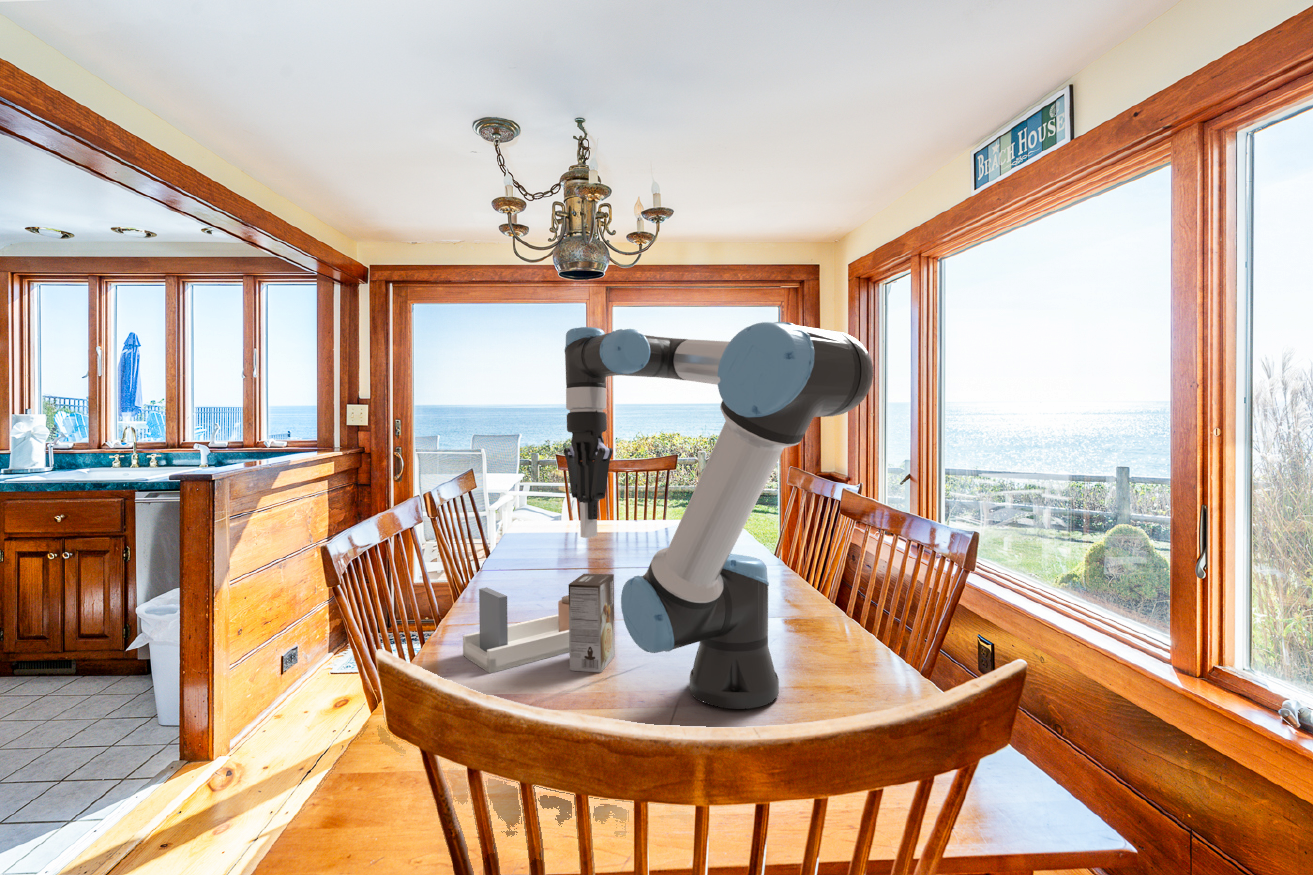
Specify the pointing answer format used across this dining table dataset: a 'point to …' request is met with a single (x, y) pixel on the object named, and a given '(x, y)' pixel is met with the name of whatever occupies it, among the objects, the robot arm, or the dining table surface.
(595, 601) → the coffee box
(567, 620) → the jar
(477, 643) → the white rectangular tray
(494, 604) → the block
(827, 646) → the dining table surface
